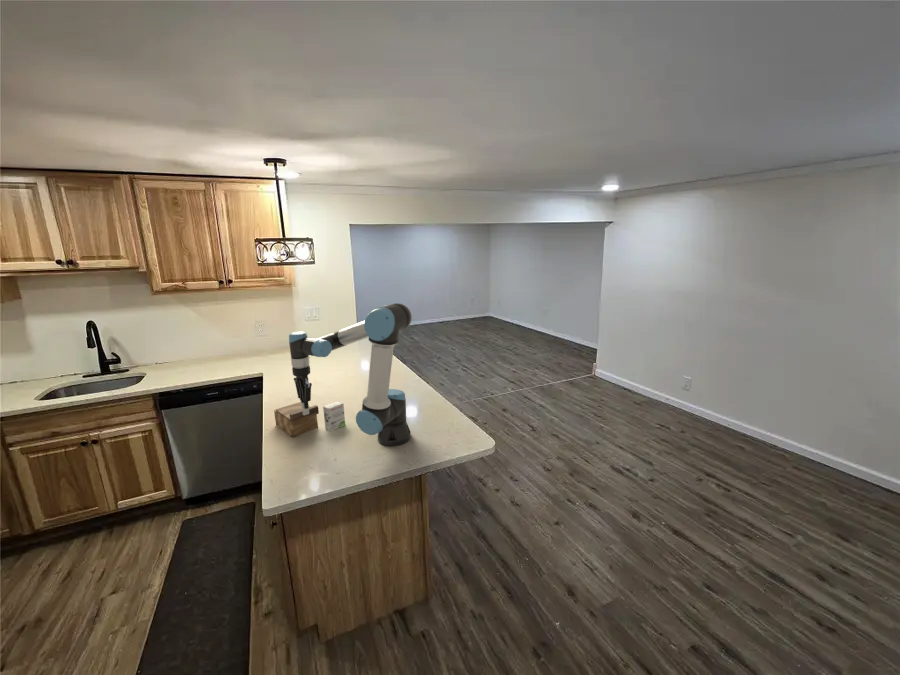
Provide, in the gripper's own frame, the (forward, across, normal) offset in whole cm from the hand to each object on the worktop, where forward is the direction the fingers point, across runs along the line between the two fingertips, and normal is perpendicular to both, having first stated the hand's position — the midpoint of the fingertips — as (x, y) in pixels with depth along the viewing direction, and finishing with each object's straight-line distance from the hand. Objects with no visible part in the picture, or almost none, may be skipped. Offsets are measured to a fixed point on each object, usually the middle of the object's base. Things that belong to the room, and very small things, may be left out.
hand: (305, 414), depth 186 cm
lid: (+2, +10, 0) cm, 10 cm away
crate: (+11, +12, 0) cm, 16 cm away
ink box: (+11, -2, -13) cm, 17 cm away
